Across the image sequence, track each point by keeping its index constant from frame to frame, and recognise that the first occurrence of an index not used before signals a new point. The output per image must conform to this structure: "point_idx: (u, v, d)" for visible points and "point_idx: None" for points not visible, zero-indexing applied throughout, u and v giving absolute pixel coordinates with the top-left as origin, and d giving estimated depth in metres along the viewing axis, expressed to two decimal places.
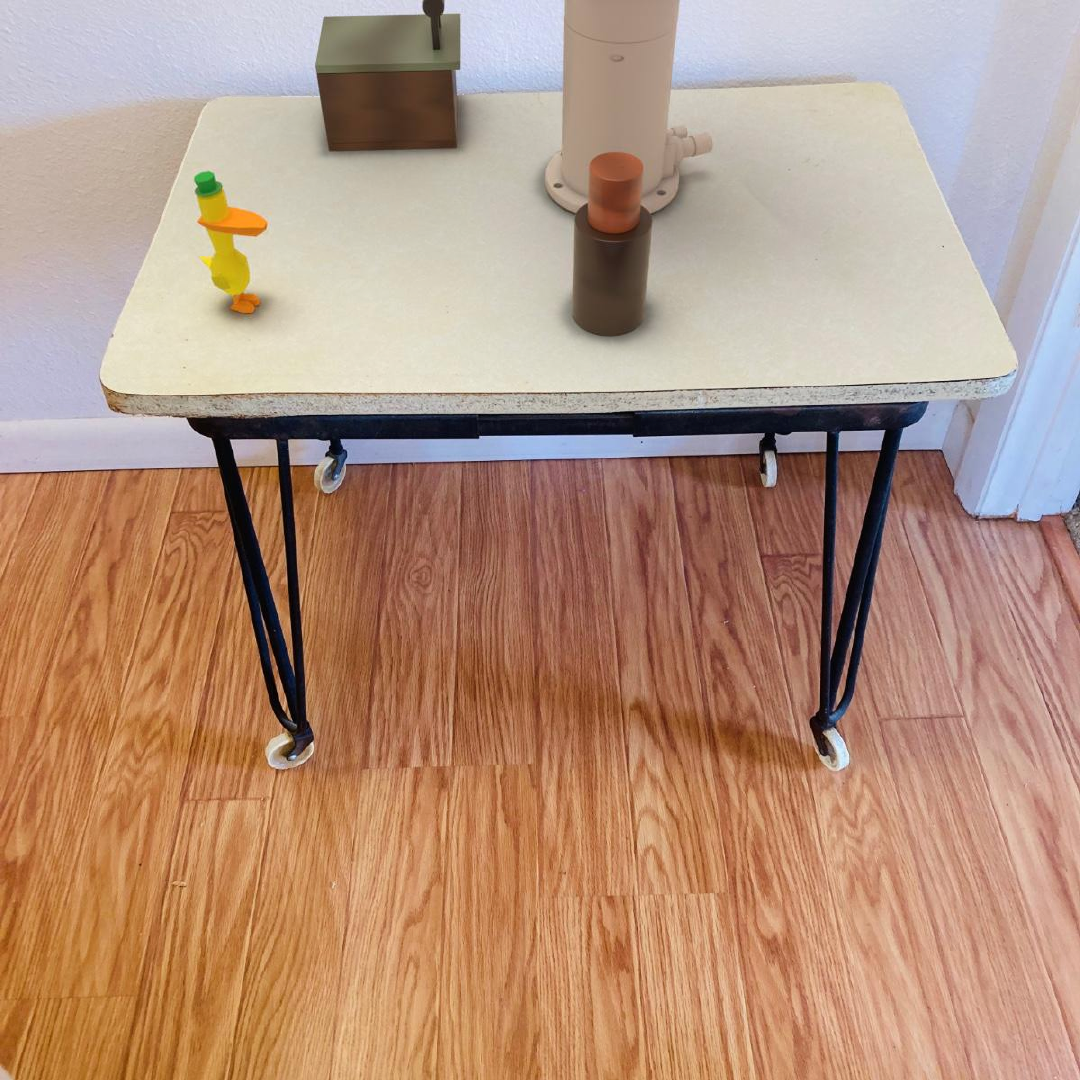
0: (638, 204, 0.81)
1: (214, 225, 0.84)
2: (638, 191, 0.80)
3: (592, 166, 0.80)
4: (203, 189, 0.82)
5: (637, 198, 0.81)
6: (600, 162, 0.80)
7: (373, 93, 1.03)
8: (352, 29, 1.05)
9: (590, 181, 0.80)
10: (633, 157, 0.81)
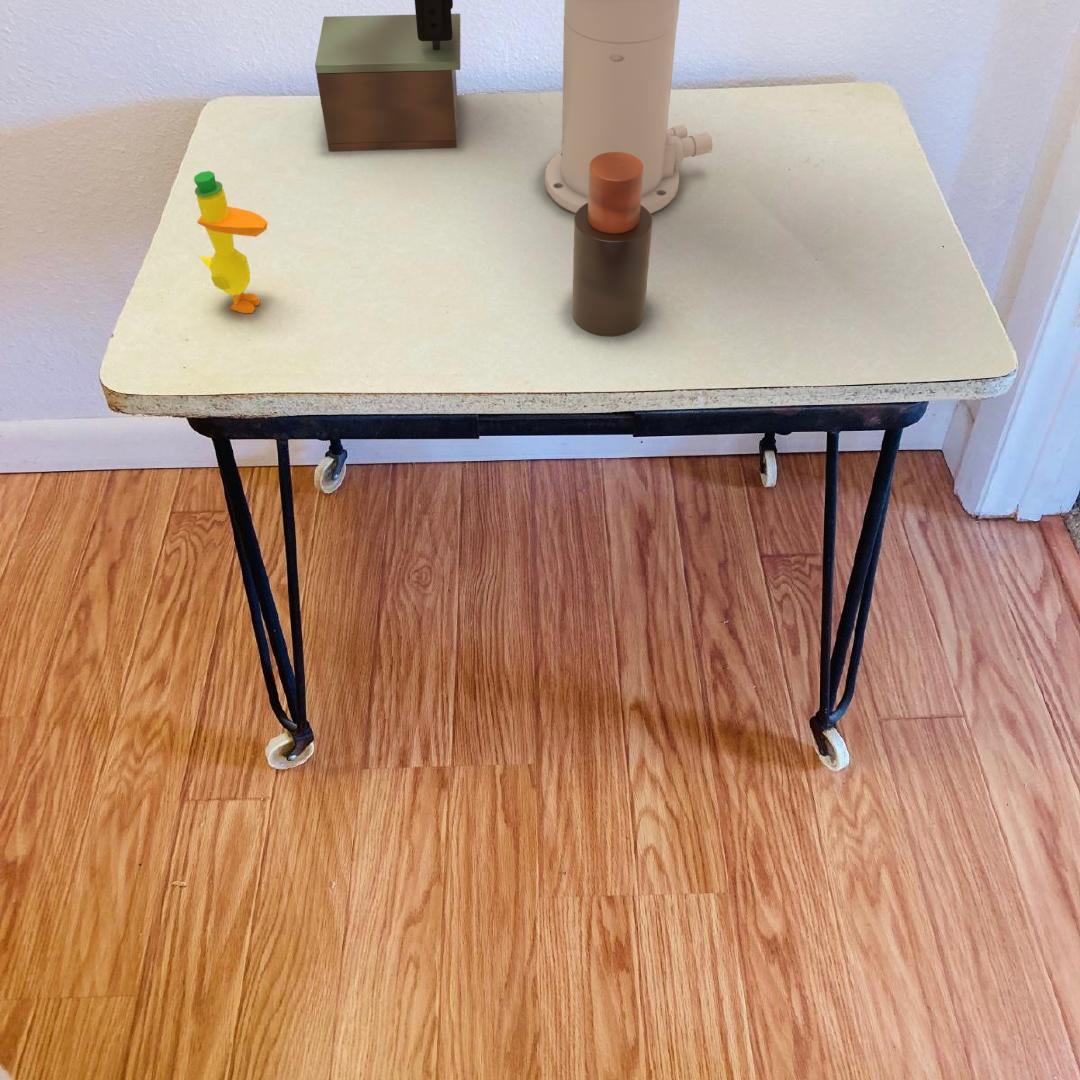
0: (638, 204, 0.81)
1: (214, 225, 0.84)
2: (638, 191, 0.80)
3: (592, 166, 0.80)
4: (203, 189, 0.82)
5: (637, 198, 0.81)
6: (600, 162, 0.80)
7: (373, 93, 1.03)
8: (352, 29, 1.05)
9: (590, 181, 0.80)
10: (633, 157, 0.81)
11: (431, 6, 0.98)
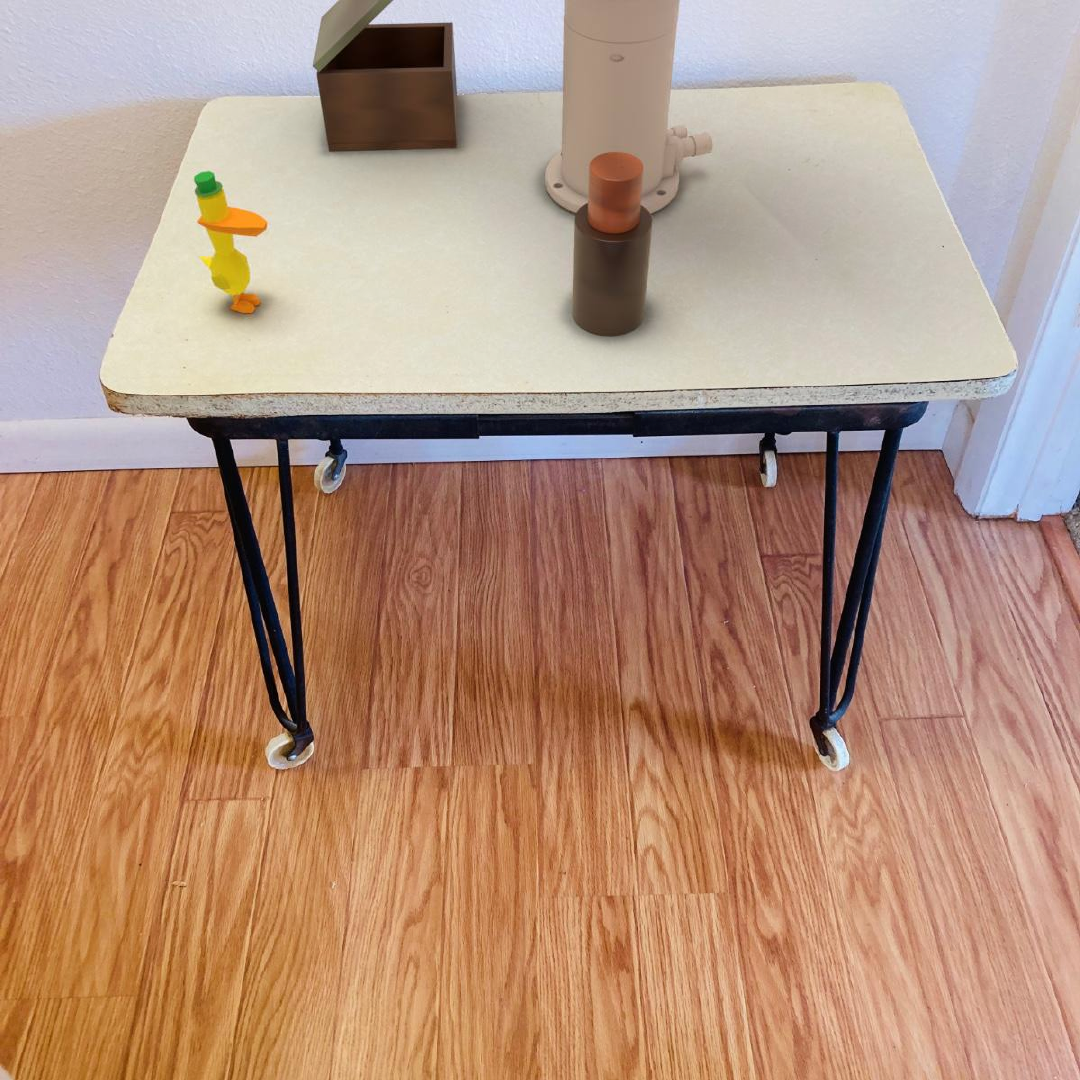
0: (638, 204, 0.81)
1: (214, 225, 0.84)
2: (638, 191, 0.80)
3: (592, 166, 0.80)
4: (203, 189, 0.82)
5: (637, 198, 0.81)
6: (600, 162, 0.80)
7: (373, 93, 1.03)
8: (339, 10, 1.03)
9: (590, 181, 0.80)
10: (633, 157, 0.81)
11: None
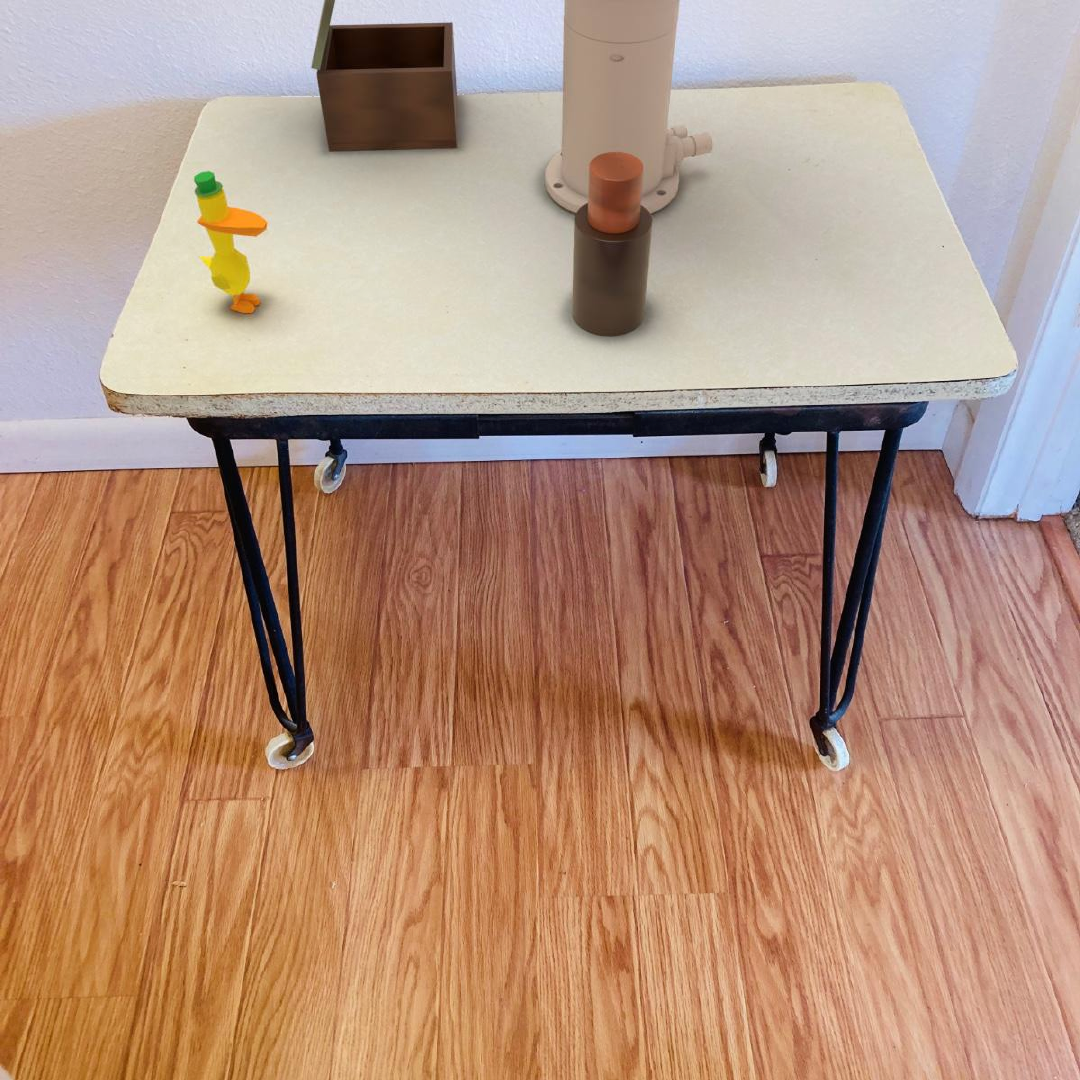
0: (638, 204, 0.81)
1: (214, 225, 0.84)
2: (638, 191, 0.80)
3: (592, 166, 0.80)
4: (203, 189, 0.82)
5: (637, 198, 0.81)
6: (600, 162, 0.80)
7: (373, 93, 1.03)
8: None
9: (590, 181, 0.80)
10: (633, 157, 0.81)
11: None
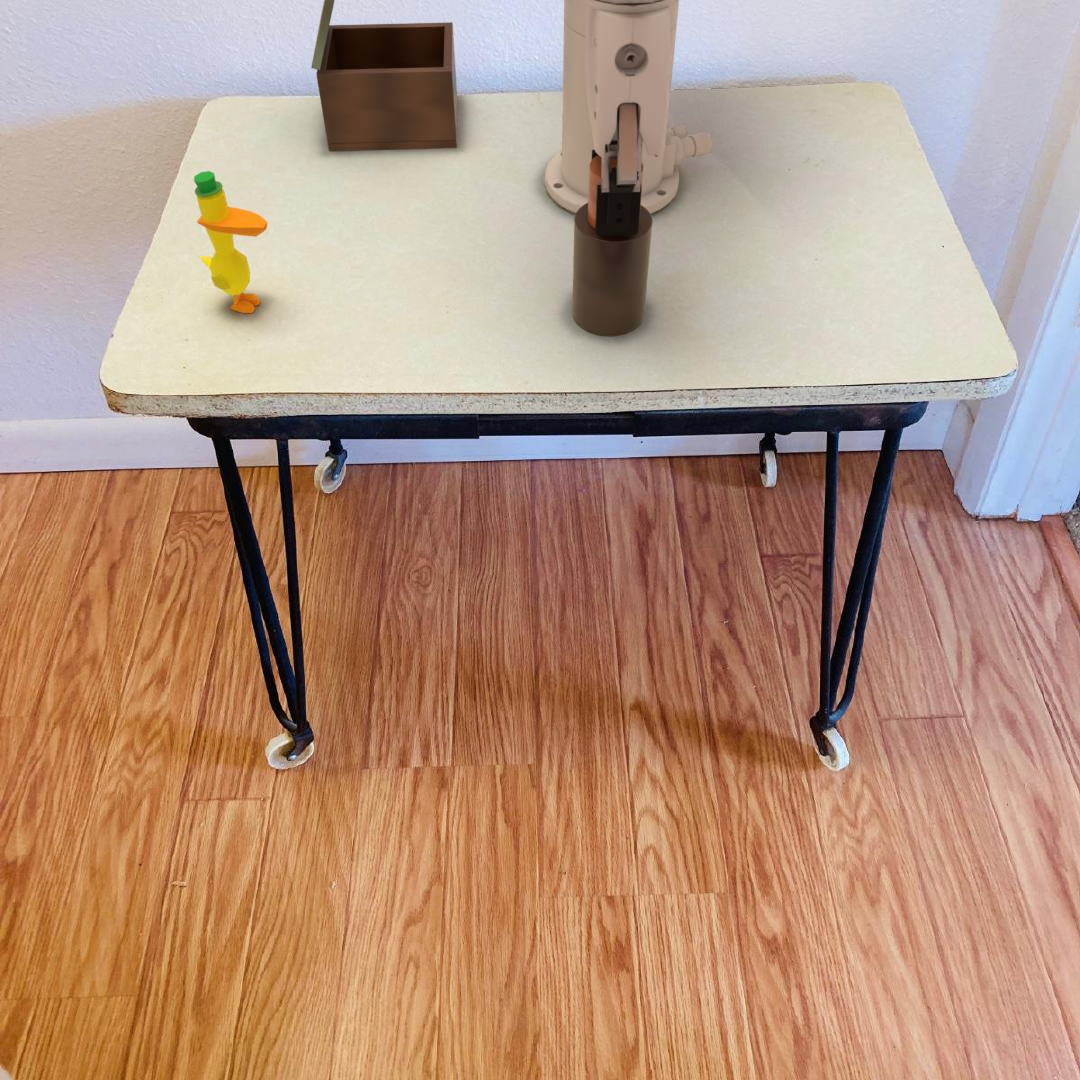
0: None
1: (214, 225, 0.84)
2: None
3: (592, 166, 0.80)
4: (203, 189, 0.82)
5: None
6: (600, 162, 0.80)
7: (373, 93, 1.03)
8: (323, 3, 1.03)
9: (590, 181, 0.80)
10: None
11: (618, 200, 0.78)
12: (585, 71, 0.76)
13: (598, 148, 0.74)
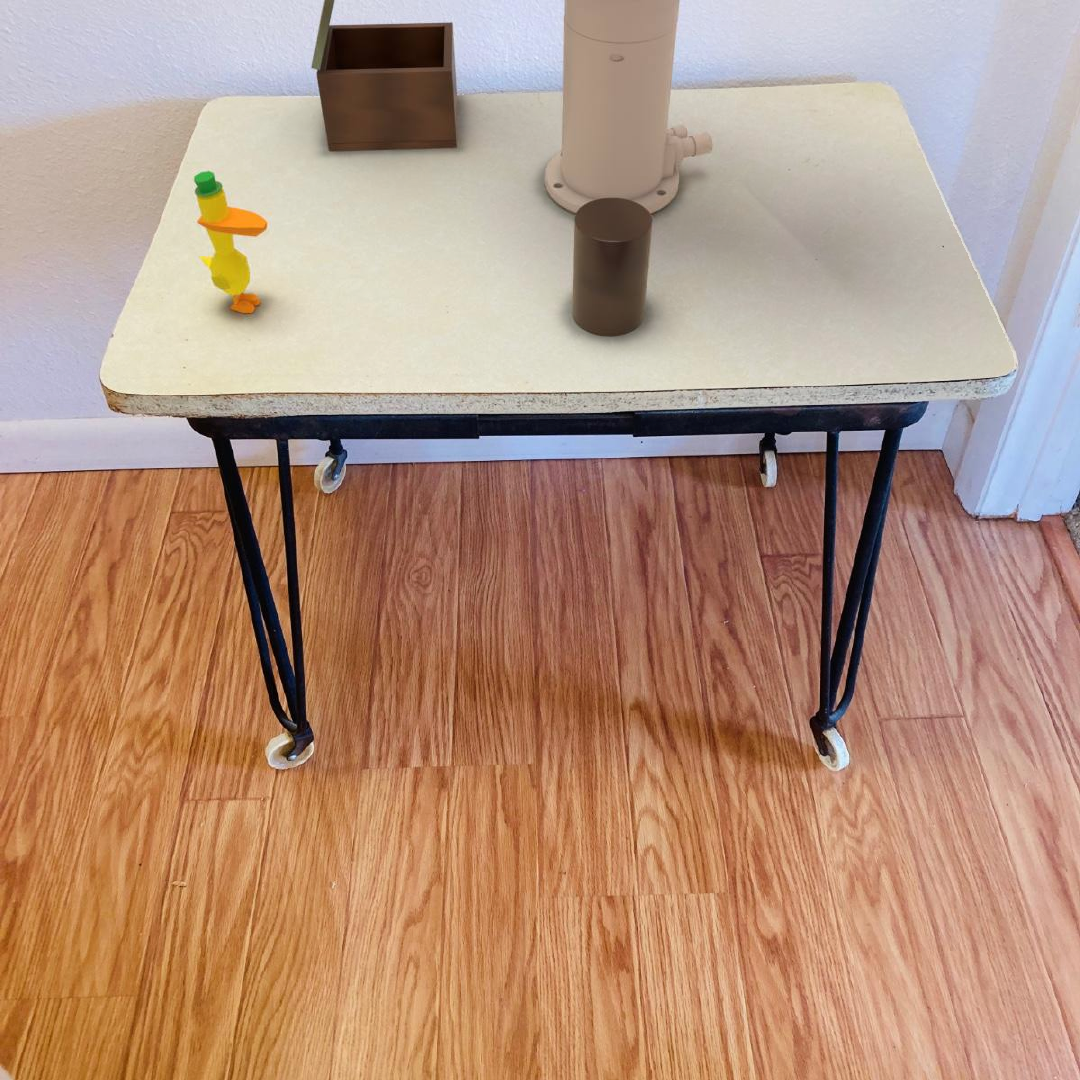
0: None
1: (214, 225, 0.84)
2: None
3: None
4: (203, 189, 0.82)
5: None
6: None
7: (373, 93, 1.03)
8: (323, 3, 1.03)
9: None
10: None
11: None
12: None
13: None
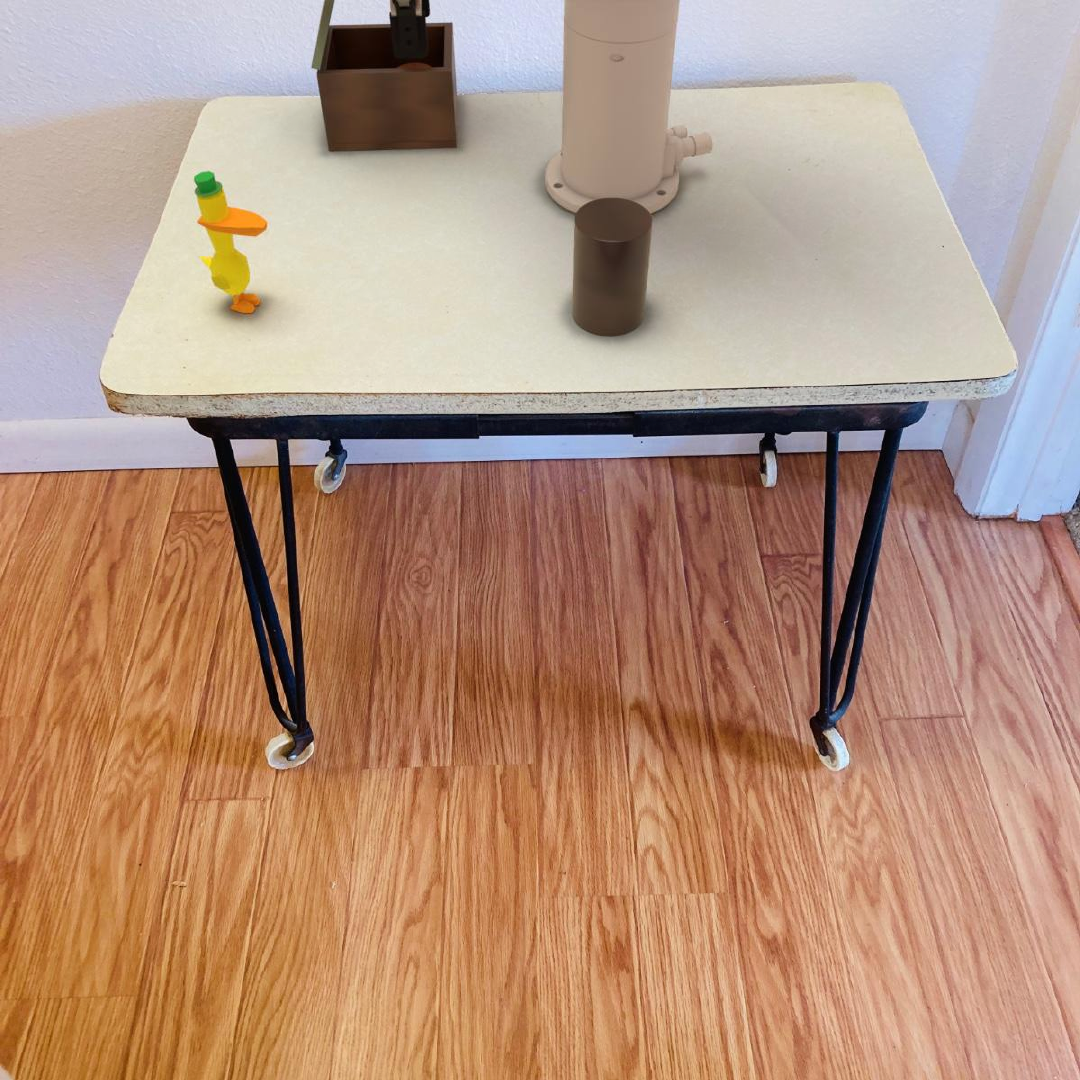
0: None
1: (214, 225, 0.84)
2: None
3: None
4: (203, 189, 0.82)
5: None
6: None
7: (373, 93, 1.03)
8: (323, 3, 1.03)
9: None
10: (428, 66, 1.07)
11: (406, 24, 0.98)
12: None
13: None
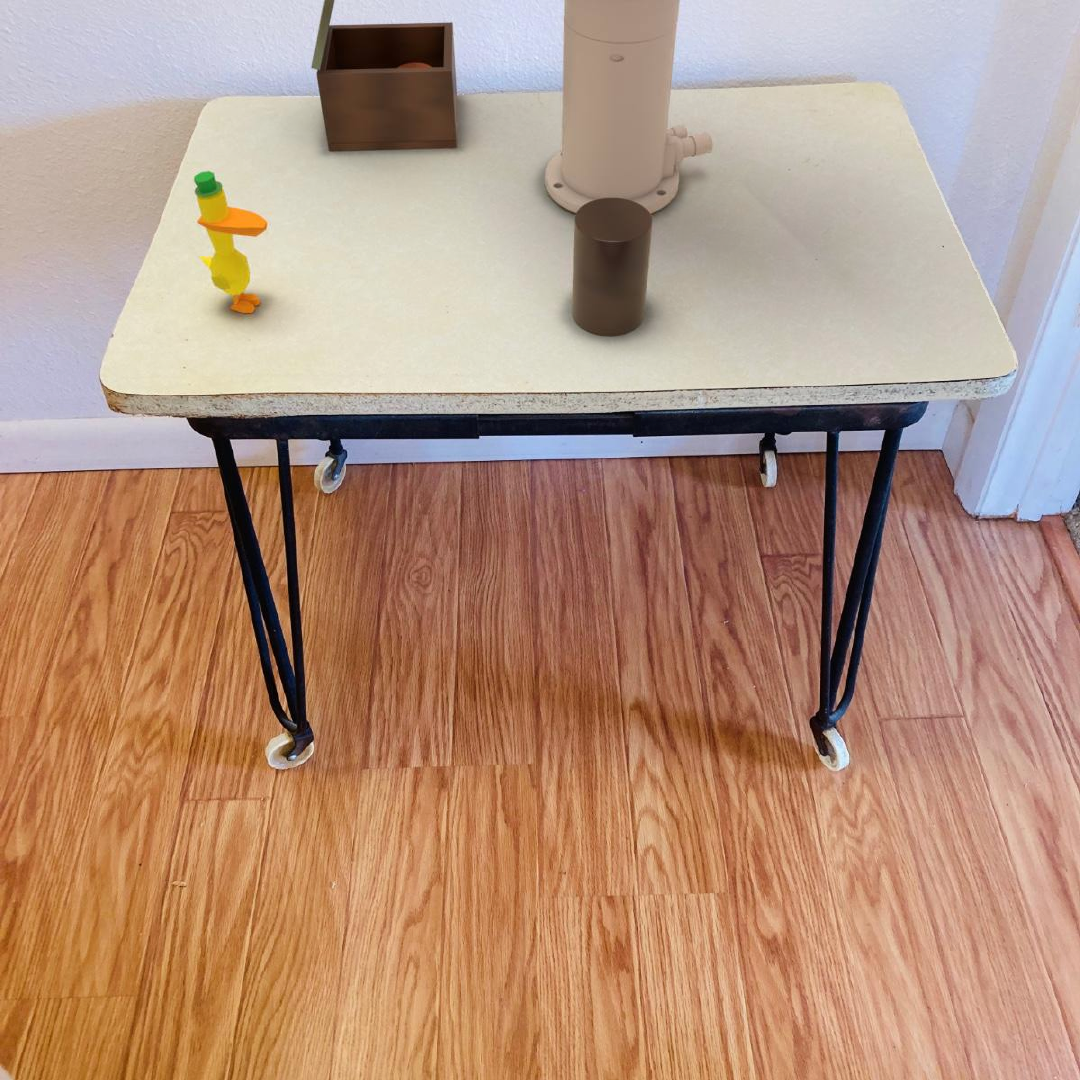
0: None
1: (214, 225, 0.84)
2: None
3: None
4: (203, 189, 0.82)
5: None
6: None
7: (373, 93, 1.03)
8: (323, 3, 1.03)
9: None
10: (428, 66, 1.07)
11: None
12: None
13: None
